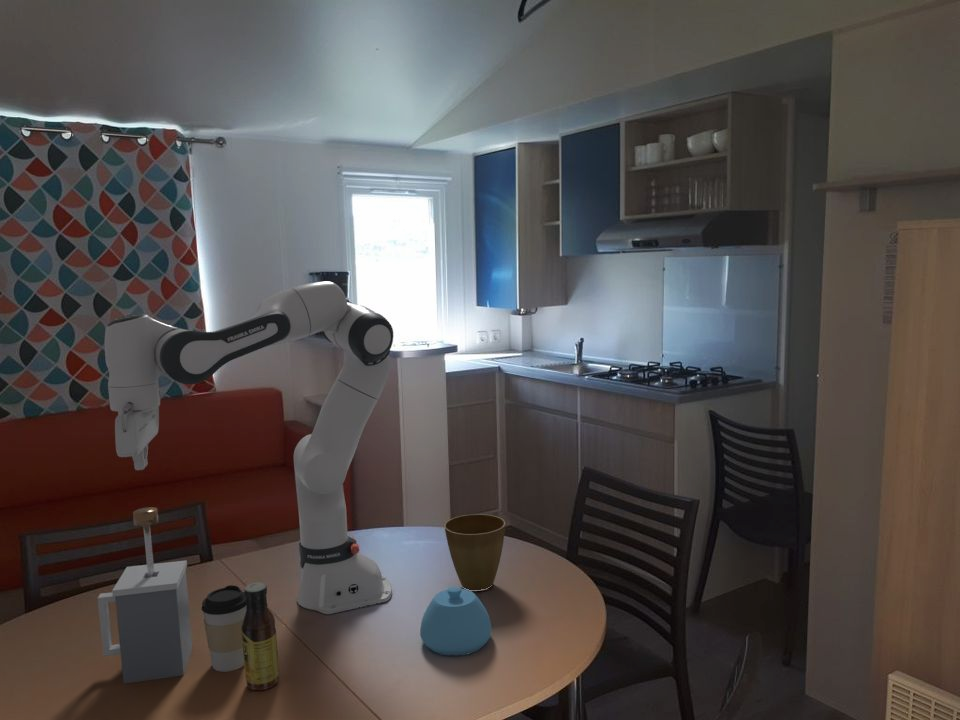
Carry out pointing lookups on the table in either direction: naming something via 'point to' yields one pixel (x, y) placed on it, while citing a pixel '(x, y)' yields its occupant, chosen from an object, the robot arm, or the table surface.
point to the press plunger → (147, 532)
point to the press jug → (149, 622)
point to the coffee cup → (225, 627)
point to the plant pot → (475, 548)
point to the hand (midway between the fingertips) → (141, 468)
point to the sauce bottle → (259, 640)
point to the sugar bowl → (455, 623)
